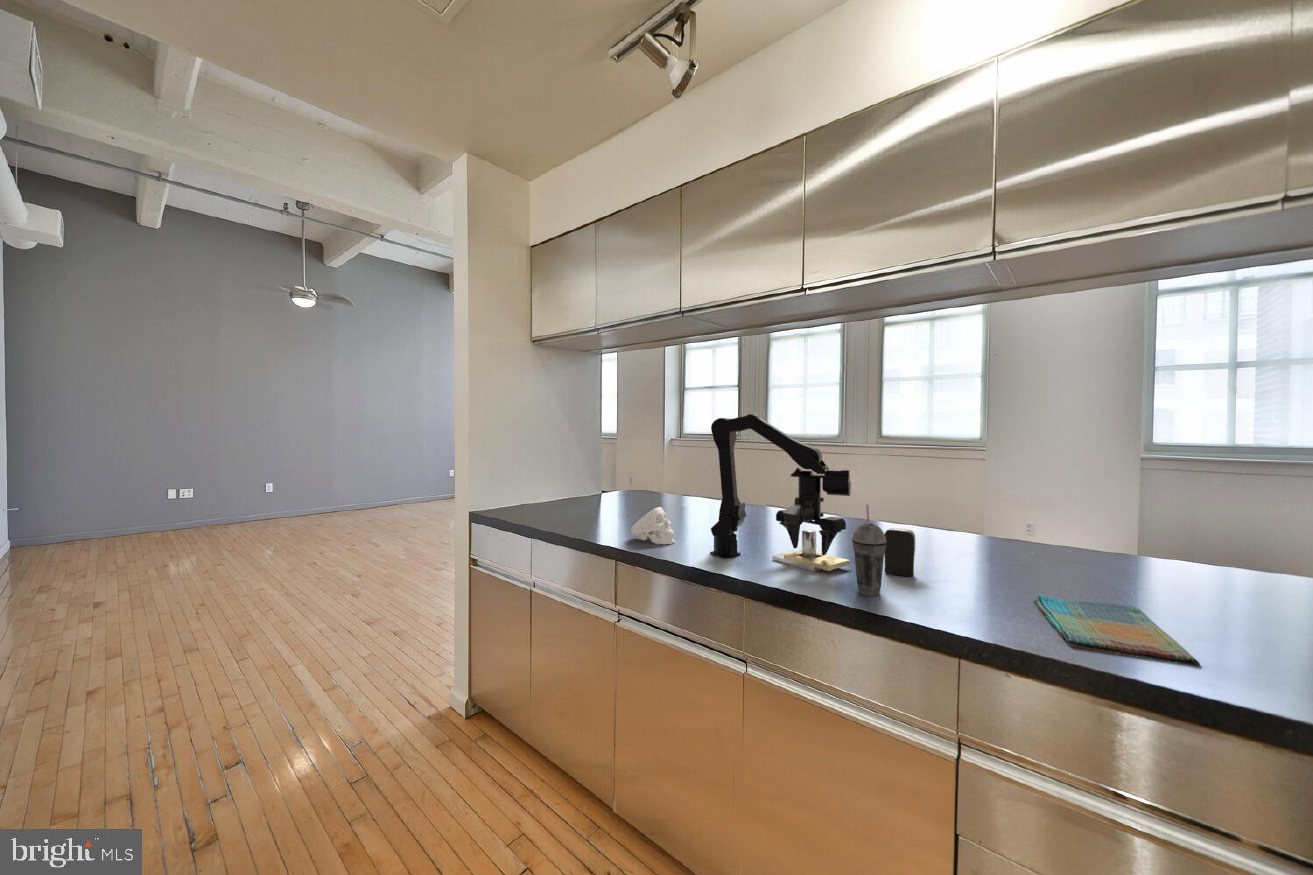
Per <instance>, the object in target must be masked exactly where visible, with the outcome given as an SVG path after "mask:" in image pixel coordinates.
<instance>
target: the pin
mask: <svg viewBox="0 0 1313 875" xmlns="http://www.w3.org/2000/svg"><path fill="white" fill-rule="evenodd" d="M801 533H802V534H801V542H802V543H801V548H802V549H801V550H802V557H804V558H808V559H815V558H816V552H817V531H816V530H813V529H803V530H801Z"/></svg>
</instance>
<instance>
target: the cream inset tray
mask: <svg viewBox="0 0 1313 875" xmlns="http://www.w3.org/2000/svg"><path fill="white" fill-rule="evenodd" d="M771 560H772V561H775V562H779V563H781V562H783V563H782V564H785V563H786V564H785V565H788V564H789V566H791V567H796V568H798V569H799V568H800V569H802V570H803V569H804V570H806V569H808V570H807V571H810V570H811V571H810V572H813V571H814V572H813V573H815V571H816V572H819V571H821V570H820V569H823V571H827V572H828V571H833V570H836V569H839V568H842V567H846V566H849V565H850V560H849V559H846V558H842V557H837V556H834V555H830V554H826V555H822V552H817V551H816V558H815V559H808V558H804V557H802V549H800V550H791V551H786V552H782V553H777V554H774V555H772V557H771ZM818 570H819V571H818Z"/></svg>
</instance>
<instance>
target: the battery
mask: <svg viewBox="0 0 1313 875" xmlns="http://www.w3.org/2000/svg"><path fill="white" fill-rule="evenodd" d="M884 534H885V537H886V542H887V544H886V550H885V553H884V570H883V571H884V573H885V574H889V575H896V576H901V577H910V578H911V577H912V578H913V577H915V556H916V534H915V532H914V531H912V530H911V529H906V528H896V527H891V528H888V529H887V530H885V532H884Z"/></svg>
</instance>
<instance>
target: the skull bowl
mask: <svg viewBox="0 0 1313 875" xmlns="http://www.w3.org/2000/svg"><path fill="white" fill-rule="evenodd" d="M671 528H672V523H671V522H670V520H669V518H668V515H667V513H666V512H665V511H664V509H663V508H662V506H659V507H656V508H653V509H652V510H650V511H648V512H646V514H644V515H643V516H642V517H641V518H640V519H639V520H638V521H637V522H635V524H633V526H632V527H631V529H630V532H631V534H632V535H633V537H634V538H636V539H637V540H640V541H644V542H646V541H648V540H650V541H651V543H652V544H654V543H655V544H654V545H660V544H670V545H672V544H675V543H674V542H675V541H676V540H674V534H675V532H674V531H673V529H671ZM658 536H659V537H658Z"/></svg>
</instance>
